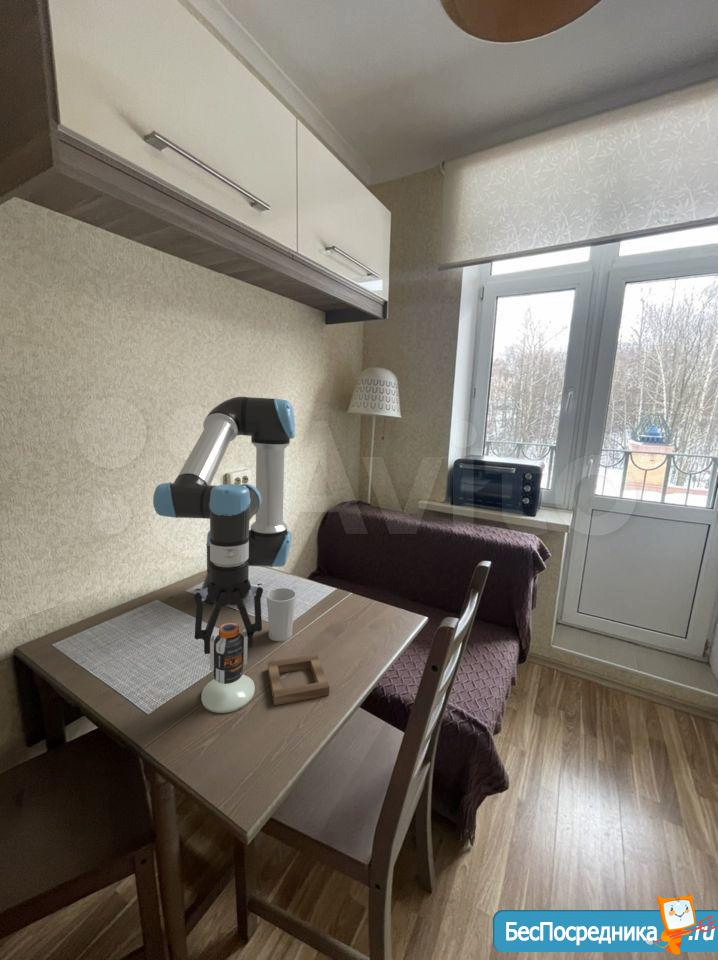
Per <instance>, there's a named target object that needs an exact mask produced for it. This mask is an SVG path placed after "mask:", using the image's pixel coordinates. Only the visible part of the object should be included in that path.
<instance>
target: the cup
mask: <svg viewBox="0 0 718 960" xmlns="http://www.w3.org/2000/svg"><path fill="white" fill-rule="evenodd" d="M296 600H297V593H296V591H295V590H294V589H292V588H288V587H276V588H273V589H270V590H269V591H267V593H266V605H267V606H266V607H267V617H268V618H267V621H268V638H269V639H271V640H272V641H275V642H283V641H287V640H289V639H291V637H292V635H293V625H294V614H295V609H296V608H295V607H296Z"/></svg>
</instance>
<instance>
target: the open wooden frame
mask: <svg viewBox="0 0 718 960" xmlns="http://www.w3.org/2000/svg"><path fill="white" fill-rule="evenodd" d="M305 669H310V671H311V674H312V675H313V679H314V682H313V683H308V684H301V685H297V686H292V687H285V688H283V685H282V679H281V677H280V676H281V675H280V674H282V673H287V672H295V671H300V670H305ZM267 673H268V679H269V684H270V689H271V695H272V696H271V697H272V701H273V706H279V705H284V704H289V703H294V702H300V701H305V700H308V699H315V698H319V697H327V696H329V695H330V684H329V682H328V679H327V676H326V674H325V672H324V670H323V667H322V663H321V661H320V658H319V656H318V654H310V655H304V656H297V657H292V658H291V657H290V658H285V659H284V658H283V659H278V660H272V661H268V662H267Z"/></svg>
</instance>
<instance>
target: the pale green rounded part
mask: <svg viewBox="0 0 718 960" xmlns="http://www.w3.org/2000/svg"><path fill="white" fill-rule="evenodd" d="M255 692H256V686H255V682H254V680H253V679H252V678H251V677H249V676H248V675H245V674H242V676H241V678H240V679H239V680H237V681H235V682H233V683H230V684H221V683H218V682H217V681H215V679H214V678H213V679H212V680H210V681H209V682H208V683H207V684H206V685H205V686H204V687H203V689H202V691H201V704H202V706H203V707H204V709H206V710H208V711H209V712H212V713H216V714H227V713H233V712H235V711H238V710H241V709H242V708H244V707H245V706H247V705H248V704H249V703H250V702H251V701H252V700H253V698H254V696H255Z"/></svg>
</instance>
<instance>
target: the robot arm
mask: <svg viewBox="0 0 718 960" xmlns="http://www.w3.org/2000/svg"><path fill="white" fill-rule="evenodd" d="M295 435H296V424H295V415H294V410H293V406H292V403H291V402H290V401H289V400H287V399H280V398H275V397H274V398H271V397H270V398H269V397H268V398H266V397H253V396H252V397H251V396H250V397H249V396H235V397H232V398H228V399H226V400H224V401H222V402H221V403H219V404H217V405H216V406H215V407H213V408H212V409H211V410H210V411H209V413H208V414H207V415H206V417H205V419H204V420H203V430H202V432H201V434H200V435H199V438H198V439H197V441H196V443H195V445H194V446H193V448H192V450H191V452H190V454H189V455H188V457H187V458H186V461H185V462H184V464H183V466H182V468H181V469H180V471H179V473H178V475H177V477H176V478H175V479H174V482H163V483H160V484H158V485H157V486H156V487H155V490H154V492H153V496H152V504H153V505H152V506H153V508H154V511H155V513H156V514H157V515H159V516H161V517H168V518H175V519H177V518H178V519H180V518H181V519H182V518H183V519H185V518H186V519H205V520H206V519H207V520H209V530H208V532H207V533H206V535H207V536H206V575H205V577H204V581H203V583H202V587H201V589H200V588H196V589H195V590H194V593H193V600H194V602H195V604H196V607H195V624H194V639H195V640H202V641H203V652H204V655H209V670H210V671H214V641H215V633H213V632H214V629H215V627H216V623H217V622H218V618H219V616H220V615H219V614H220V612H221V610H222V608H223V607H226V606H229V605H233V606H234V605H235V606H237V609H238V611H239V613H240V617H241V619H242V622H243V625H244V628H245V629H244V630H242V631H243V632H242V636H243V638H244V646H243V666H245V665H248V649H252V648H253V647H254V634H255V633H256V632H258V633H259V632H261V631H262V630H263V624H262V623H263V622H262V603H261V598H262V595H263V592H264V588H263V584H262V583H257V584H252V583H251V582H250V580H249V567H266V568H267V567H268V568H277V567H279V568H280V567H283V566H285V565H286V563H287V561H288V557H289V553H290V547H291V542H292V535H293V533H292V531H289V530H288V525H287V523H285V521H283V520H284V516H283V515H284V490H285V489H284V488H285V487H284V485H285V484H284V481H285V449H286V448H287V447H288V446H289V445H290V442H291V441H290V440H291V439H294V438H295ZM237 436H245V437H251V440H250V441H251V444H252V445H253V446H254V447H255V449H256V450H255V453H256V454H255V455H256V456H255V457H256V458H255V459H256V460H255V486H254V485H252V484H248V483H241V484H233V483H232V484H231V483H229V484H228V483H227V484H220V485H211V484H212V482H213V480H214V478H215V477H216V476H215V475H216V473H217V471H218V468H219V466H220V464H221V463H222V460H223V458H224V456H225V454H226V452H227V449H228V447H229V445H230V443H231V442H233V441H234V440H235V439H236V437H237ZM253 517H255V521H254V522H252V524H251V525H250V521H251V519H253ZM250 592H251V595H252V596H253V605H254V609H253V610H254V623H252V622H251V618H250V615H249V613H248V609H247V608H246V605H245V600H244V599H246V598H247V596H249V594H250ZM204 602H206V603H209V604H212V605H213V607H212V609H211V611H210V614H209V615H210V616H209V618H208V621H207V623H206V627H205V629H202V626H203V625H202V624H203V613H204V611H203V610H204Z"/></svg>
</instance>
